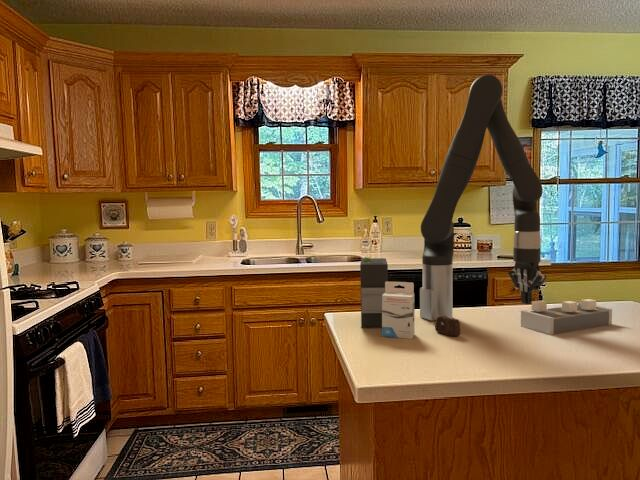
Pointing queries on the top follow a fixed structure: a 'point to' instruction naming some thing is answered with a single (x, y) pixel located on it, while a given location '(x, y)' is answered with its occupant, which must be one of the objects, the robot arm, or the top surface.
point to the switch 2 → (569, 306)
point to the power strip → (565, 319)
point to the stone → (448, 326)
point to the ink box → (398, 310)
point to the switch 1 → (539, 306)
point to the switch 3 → (588, 304)
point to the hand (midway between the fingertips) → (526, 303)
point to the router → (372, 290)
